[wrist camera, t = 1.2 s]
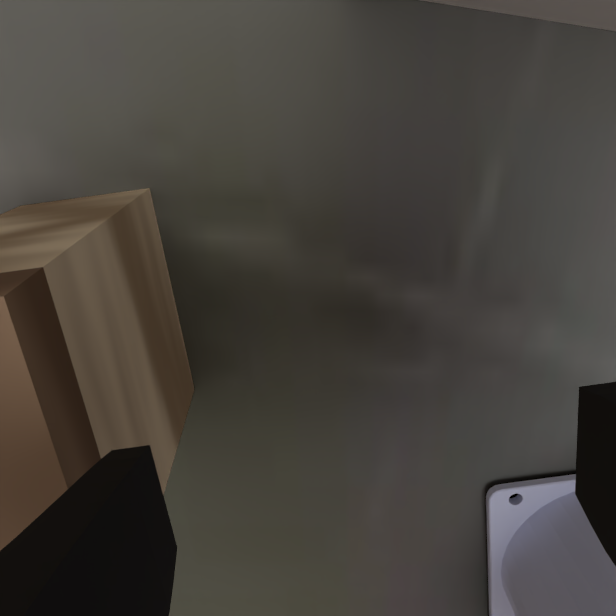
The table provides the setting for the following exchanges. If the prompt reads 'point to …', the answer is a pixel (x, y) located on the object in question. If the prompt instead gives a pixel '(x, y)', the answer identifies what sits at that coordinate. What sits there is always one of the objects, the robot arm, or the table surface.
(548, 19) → the tall grey block
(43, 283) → the maple block
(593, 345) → the table surface
